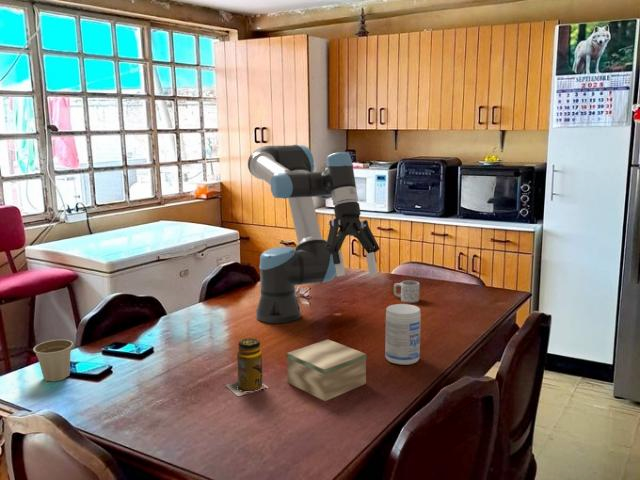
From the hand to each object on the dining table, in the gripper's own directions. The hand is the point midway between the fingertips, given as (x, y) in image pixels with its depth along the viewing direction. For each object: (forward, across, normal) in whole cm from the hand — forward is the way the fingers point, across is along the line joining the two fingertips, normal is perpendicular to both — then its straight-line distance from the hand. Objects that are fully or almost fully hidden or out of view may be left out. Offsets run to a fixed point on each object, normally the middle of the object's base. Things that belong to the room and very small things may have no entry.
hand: (357, 275), depth 169 cm
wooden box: (+28, -20, -2) cm, 34 cm away
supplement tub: (+25, +6, -6) cm, 27 cm away
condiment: (+26, -36, +11) cm, 45 cm away
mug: (+5, +51, +25) cm, 57 cm away
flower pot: (+16, -68, +49) cm, 85 cm away
